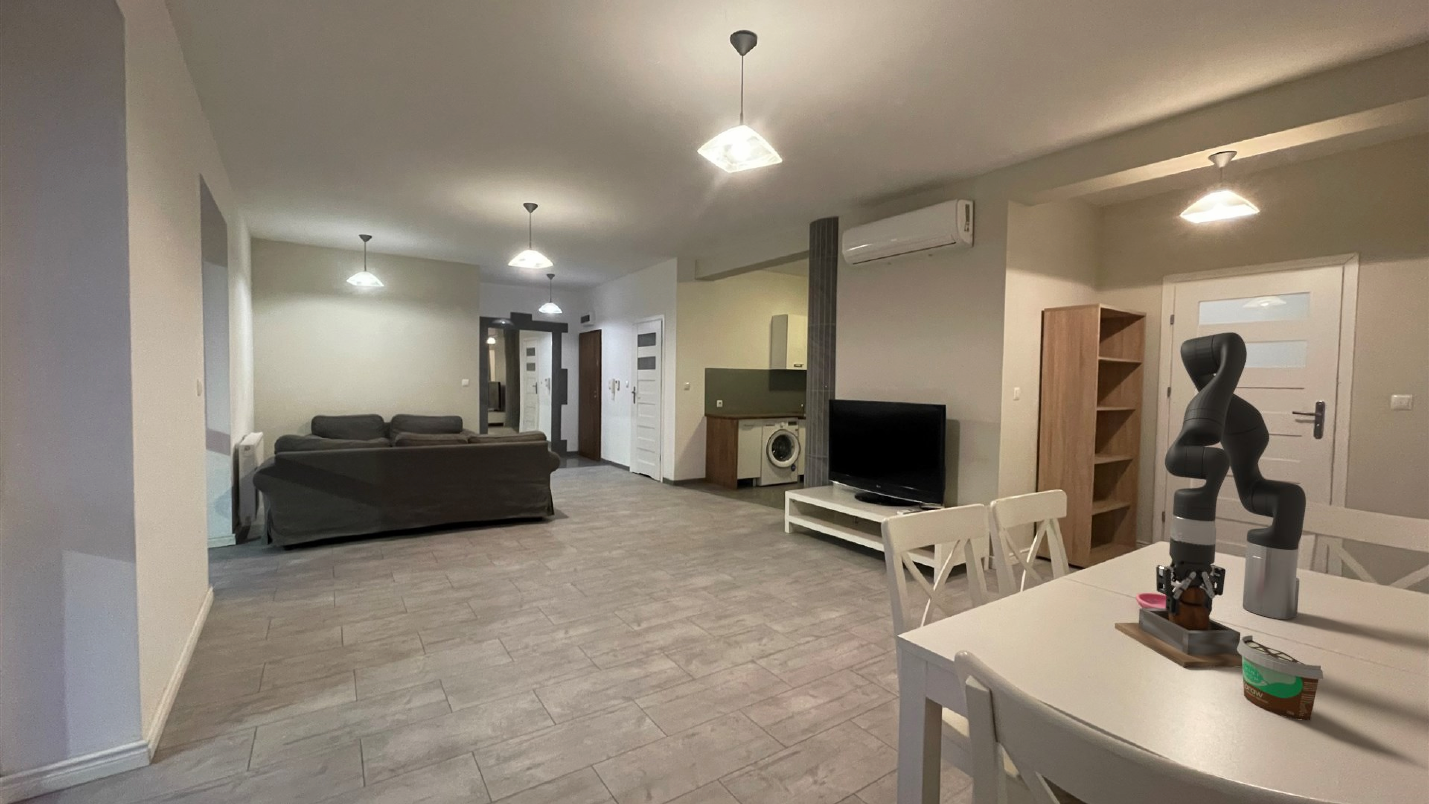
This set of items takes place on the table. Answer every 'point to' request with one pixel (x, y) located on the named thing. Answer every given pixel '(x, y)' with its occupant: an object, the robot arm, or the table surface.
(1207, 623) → the wooden figurine
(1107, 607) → the table surface
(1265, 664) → the food container
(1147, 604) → the saucer
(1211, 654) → the collar board
